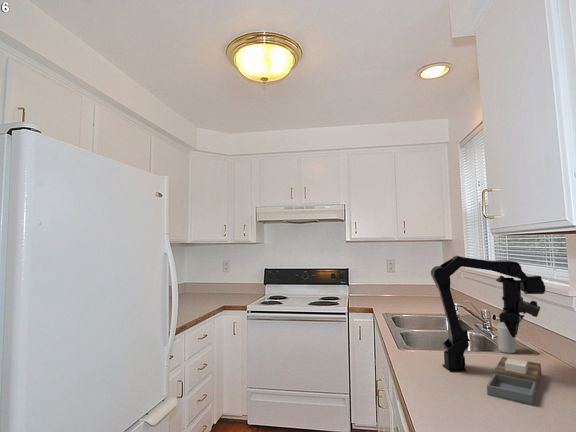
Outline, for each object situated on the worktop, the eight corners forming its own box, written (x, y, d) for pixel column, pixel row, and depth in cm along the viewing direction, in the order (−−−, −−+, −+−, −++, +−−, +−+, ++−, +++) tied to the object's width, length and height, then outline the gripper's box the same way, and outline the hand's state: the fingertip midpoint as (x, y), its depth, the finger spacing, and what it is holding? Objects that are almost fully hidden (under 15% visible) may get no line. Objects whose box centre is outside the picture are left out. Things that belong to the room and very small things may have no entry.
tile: (525, 374, 119) (525, 366, 119) (505, 370, 123) (504, 362, 123) (527, 368, 124) (527, 361, 124) (508, 365, 128) (507, 358, 128)
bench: (536, 390, 116) (535, 378, 116) (495, 381, 123) (494, 370, 124) (541, 374, 128) (540, 363, 128) (503, 367, 136) (502, 357, 136)
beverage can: (518, 354, 149) (516, 325, 150) (502, 353, 150) (500, 325, 151) (512, 349, 155) (510, 321, 156) (496, 349, 157) (494, 321, 157)
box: (532, 405, 106) (531, 395, 106) (487, 394, 114) (486, 385, 114) (536, 391, 115) (535, 381, 116) (494, 382, 123) (494, 373, 123)
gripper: (535, 300, 121) (538, 346, 120) (540, 292, 135) (543, 333, 134) (497, 297, 128) (500, 340, 127) (506, 289, 142) (509, 329, 142)
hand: (514, 335), depth 133 cm, fingers open, 4 cm apart
